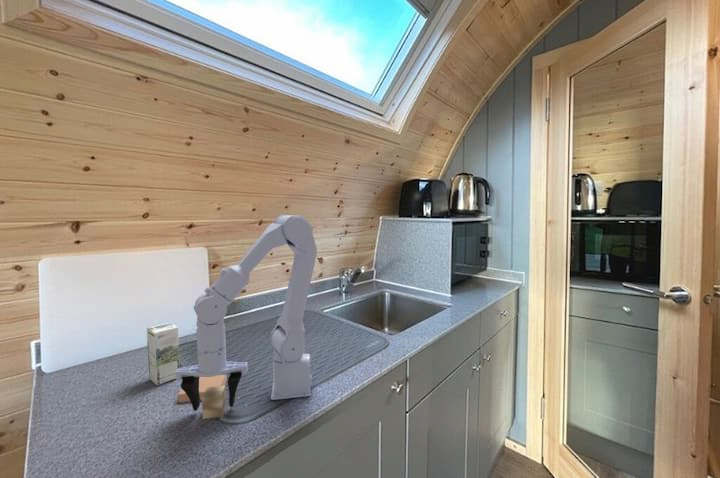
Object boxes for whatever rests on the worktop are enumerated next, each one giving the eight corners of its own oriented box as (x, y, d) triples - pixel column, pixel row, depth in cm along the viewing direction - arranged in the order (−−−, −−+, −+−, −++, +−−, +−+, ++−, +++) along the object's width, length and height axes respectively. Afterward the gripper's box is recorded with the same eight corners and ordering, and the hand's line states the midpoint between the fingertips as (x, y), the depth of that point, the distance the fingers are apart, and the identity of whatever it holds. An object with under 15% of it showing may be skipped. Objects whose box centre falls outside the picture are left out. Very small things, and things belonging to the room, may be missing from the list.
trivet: (226, 381, 87) (226, 372, 87) (218, 400, 78) (218, 390, 78) (190, 384, 85) (190, 375, 85) (178, 404, 77) (177, 394, 76)
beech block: (226, 406, 75) (225, 385, 75) (222, 417, 71) (221, 395, 71) (207, 408, 74) (206, 387, 74) (202, 419, 71) (201, 397, 70)
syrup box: (172, 371, 92) (169, 321, 90) (181, 378, 88) (178, 326, 86) (149, 379, 87) (145, 327, 86) (157, 387, 83) (154, 332, 82)
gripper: (248, 338, 77) (250, 392, 78) (182, 342, 74) (185, 399, 75) (243, 350, 70) (246, 410, 71) (170, 356, 67) (174, 418, 68)
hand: (214, 406), depth 73 cm, fingers open, 7 cm apart
